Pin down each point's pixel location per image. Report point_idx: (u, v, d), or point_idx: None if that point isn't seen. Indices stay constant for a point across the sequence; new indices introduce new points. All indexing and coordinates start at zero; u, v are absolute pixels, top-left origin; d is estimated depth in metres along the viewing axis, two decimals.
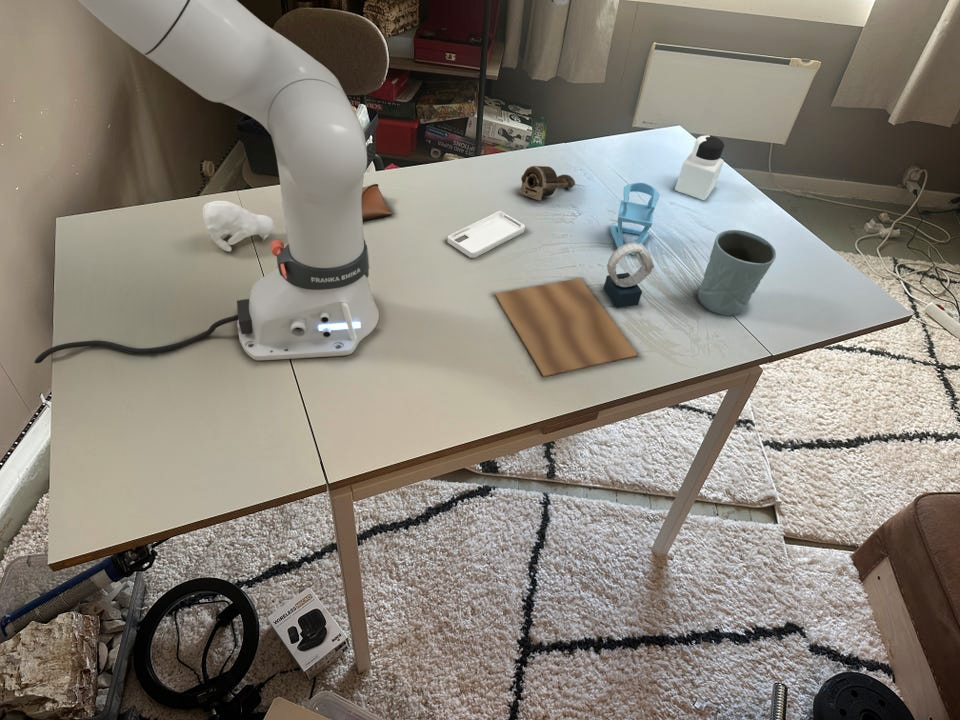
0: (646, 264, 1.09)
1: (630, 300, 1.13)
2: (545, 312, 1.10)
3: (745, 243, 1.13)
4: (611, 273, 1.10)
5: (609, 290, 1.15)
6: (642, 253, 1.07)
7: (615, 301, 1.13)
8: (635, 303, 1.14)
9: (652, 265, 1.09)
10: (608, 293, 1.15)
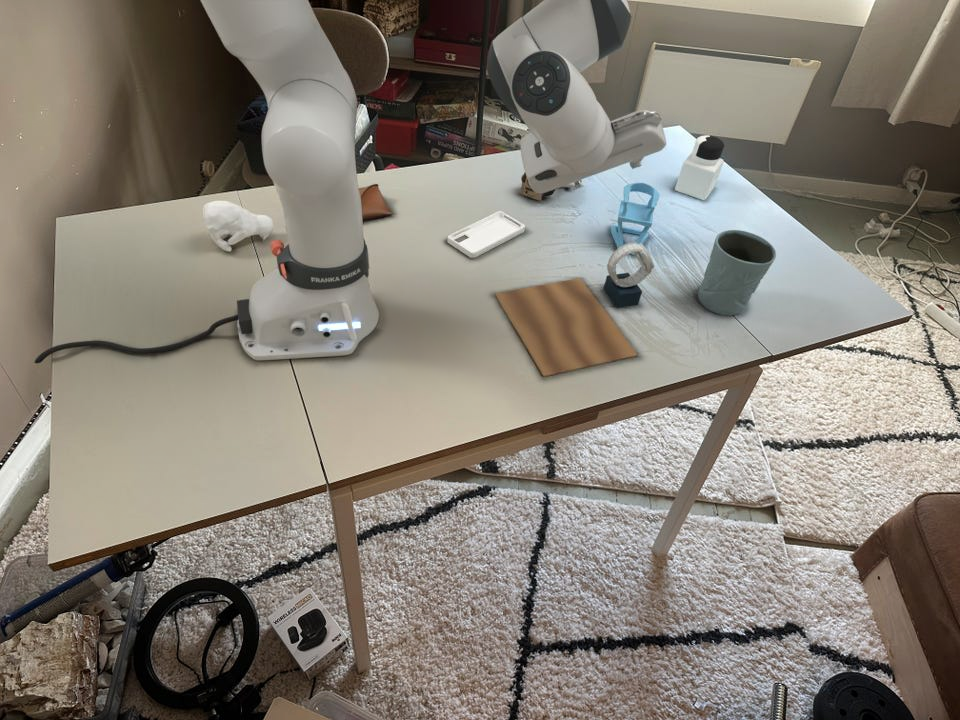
0: (646, 264, 1.09)
1: (630, 300, 1.13)
2: (545, 312, 1.10)
3: (745, 243, 1.13)
4: (611, 273, 1.10)
5: (609, 290, 1.15)
6: (642, 253, 1.07)
7: (615, 301, 1.13)
8: (635, 303, 1.14)
9: (652, 265, 1.09)
10: (608, 293, 1.15)
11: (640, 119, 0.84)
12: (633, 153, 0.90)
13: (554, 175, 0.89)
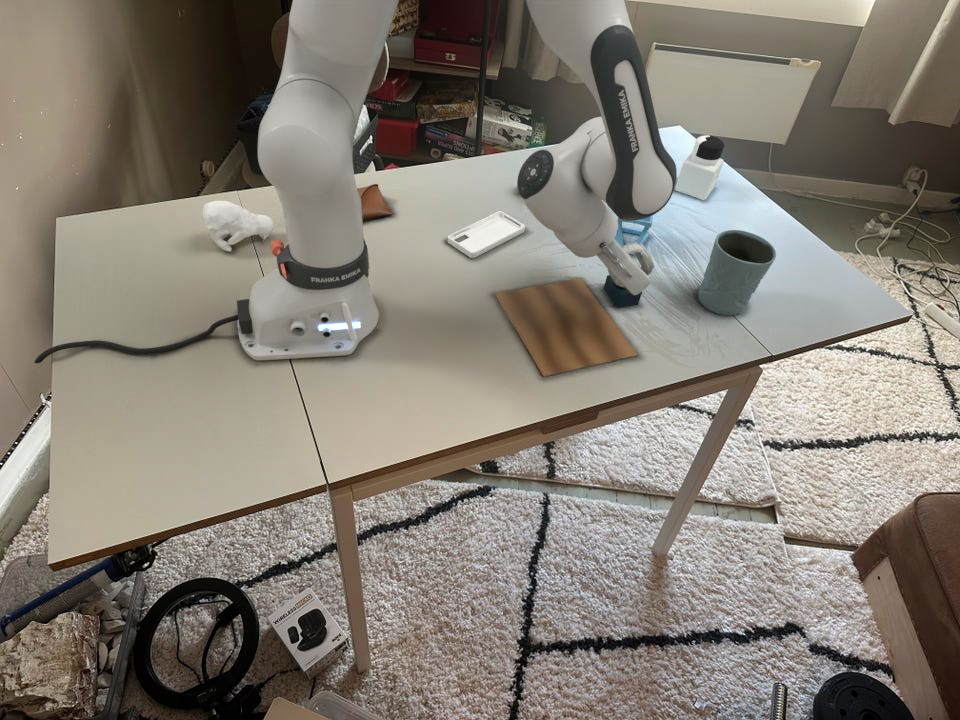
0: (646, 264, 1.09)
1: (630, 300, 1.13)
2: (545, 312, 1.10)
3: (745, 243, 1.13)
4: (611, 273, 1.10)
5: (609, 290, 1.15)
6: (642, 253, 1.07)
7: (615, 301, 1.13)
8: (635, 303, 1.14)
9: (652, 265, 1.09)
10: (608, 293, 1.15)
11: (611, 261, 0.97)
12: None
13: None
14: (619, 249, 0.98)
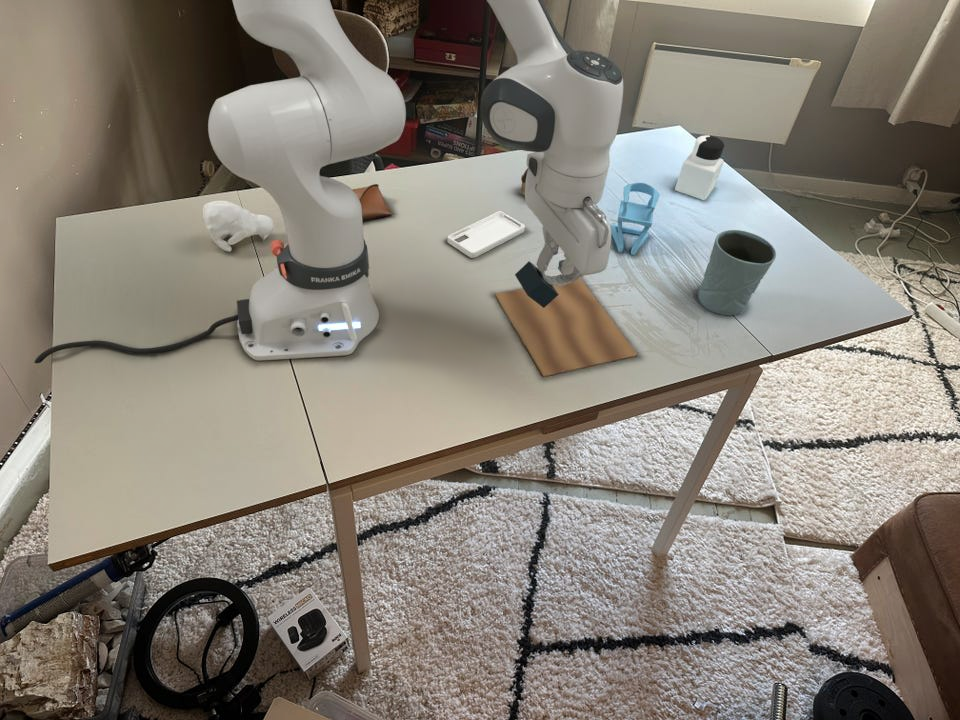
0: None
1: (543, 296, 0.98)
2: (545, 312, 1.10)
3: (745, 243, 1.13)
4: (547, 254, 0.95)
5: (525, 276, 0.98)
6: None
7: (530, 288, 0.97)
8: (543, 304, 0.99)
9: None
10: (521, 279, 0.99)
11: (597, 215, 0.83)
12: (571, 244, 0.88)
13: (534, 173, 0.91)
14: None
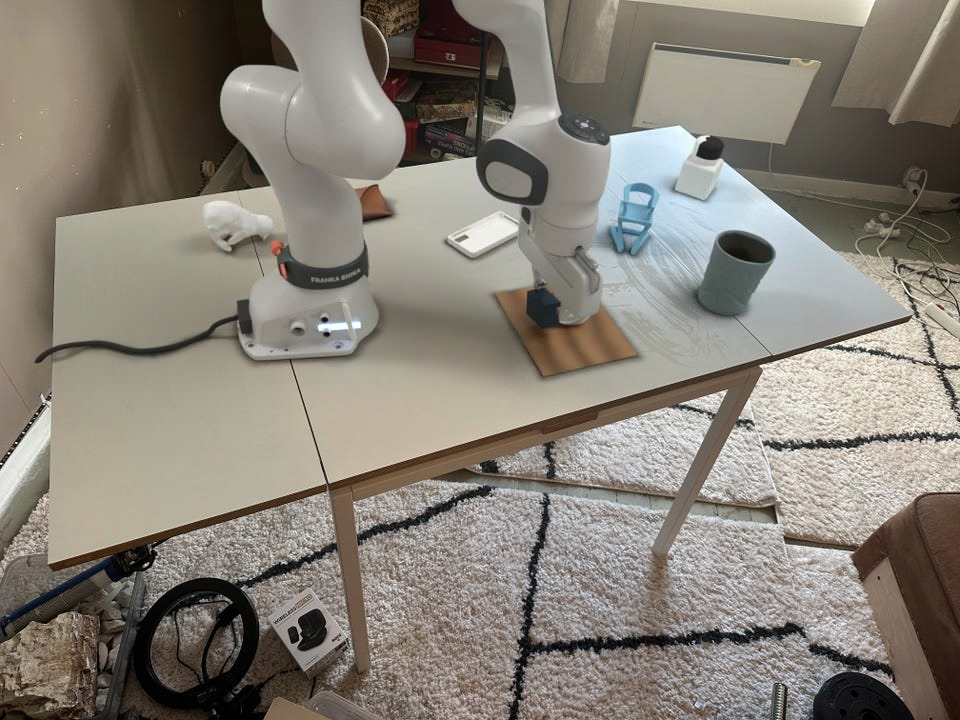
0: None
1: (550, 317, 1.03)
2: None
3: (745, 243, 1.13)
4: None
5: (540, 294, 1.04)
6: None
7: (547, 303, 1.02)
8: (545, 325, 1.03)
9: (584, 320, 1.07)
10: (536, 295, 1.04)
11: (589, 264, 0.88)
12: (565, 289, 0.94)
13: (527, 222, 0.96)
14: None
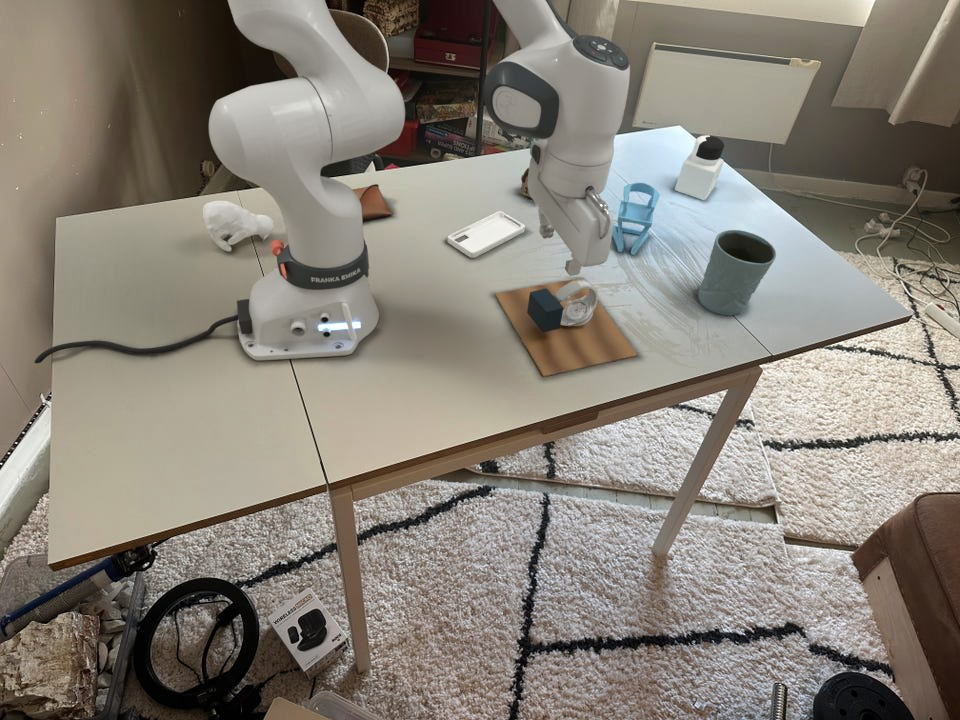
0: (586, 316, 1.07)
1: (552, 321, 1.03)
2: None
3: (745, 243, 1.13)
4: (575, 288, 1.03)
5: (542, 297, 1.03)
6: (595, 307, 1.07)
7: (549, 308, 1.01)
8: (546, 329, 1.03)
9: (584, 322, 1.07)
10: (538, 298, 1.03)
11: (599, 205, 0.81)
12: (572, 234, 0.87)
13: (537, 161, 0.89)
14: None
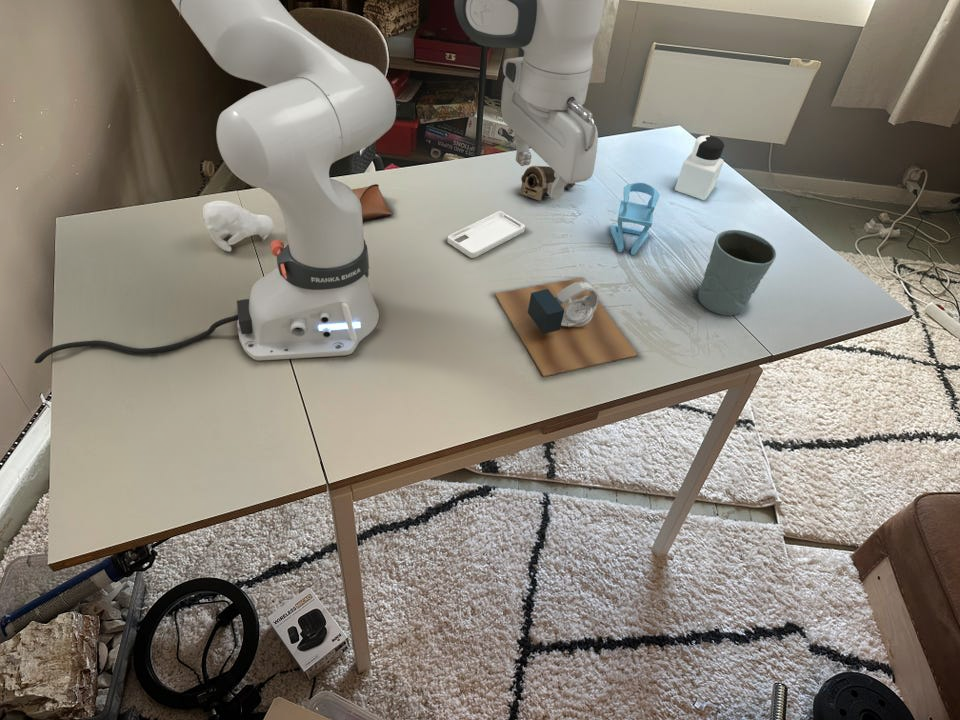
0: (587, 317, 1.07)
1: (552, 323, 1.03)
2: None
3: (745, 243, 1.13)
4: (576, 290, 1.03)
5: (544, 298, 1.03)
6: (595, 308, 1.07)
7: (550, 310, 1.01)
8: (546, 330, 1.03)
9: (584, 323, 1.07)
10: (540, 299, 1.03)
11: (583, 113, 0.78)
12: (555, 151, 0.84)
13: (512, 78, 0.86)
14: None
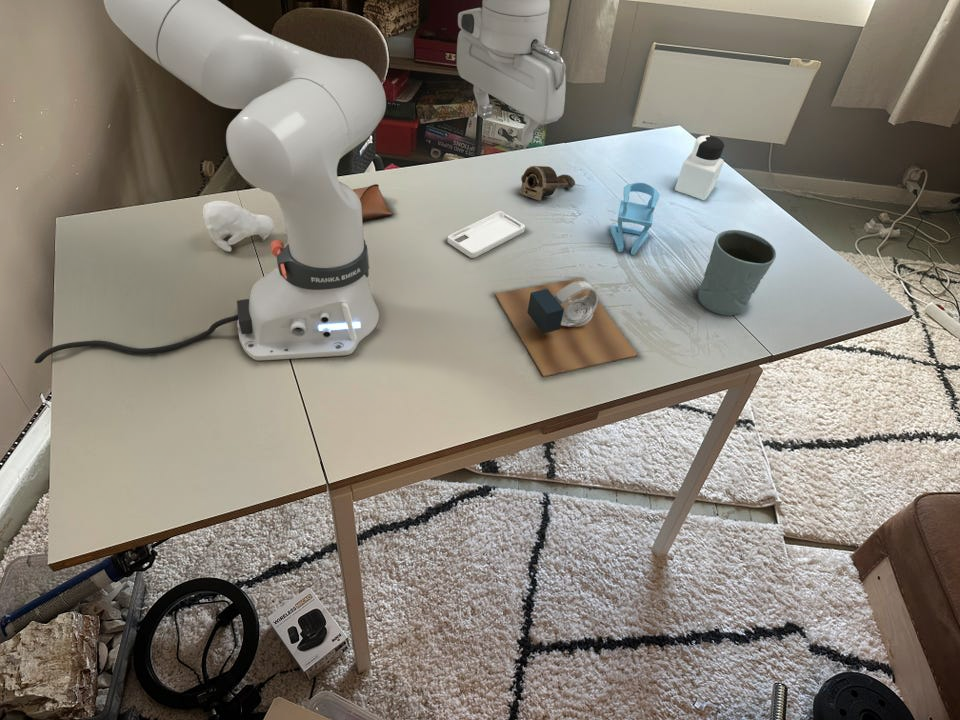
0: (586, 317, 1.07)
1: (552, 322, 1.03)
2: None
3: (745, 243, 1.13)
4: (576, 289, 1.03)
5: (543, 298, 1.03)
6: (595, 307, 1.07)
7: (550, 309, 1.01)
8: (546, 330, 1.03)
9: (584, 323, 1.07)
10: (539, 299, 1.03)
11: (550, 53, 0.81)
12: (524, 95, 0.86)
13: (471, 29, 0.87)
14: None
